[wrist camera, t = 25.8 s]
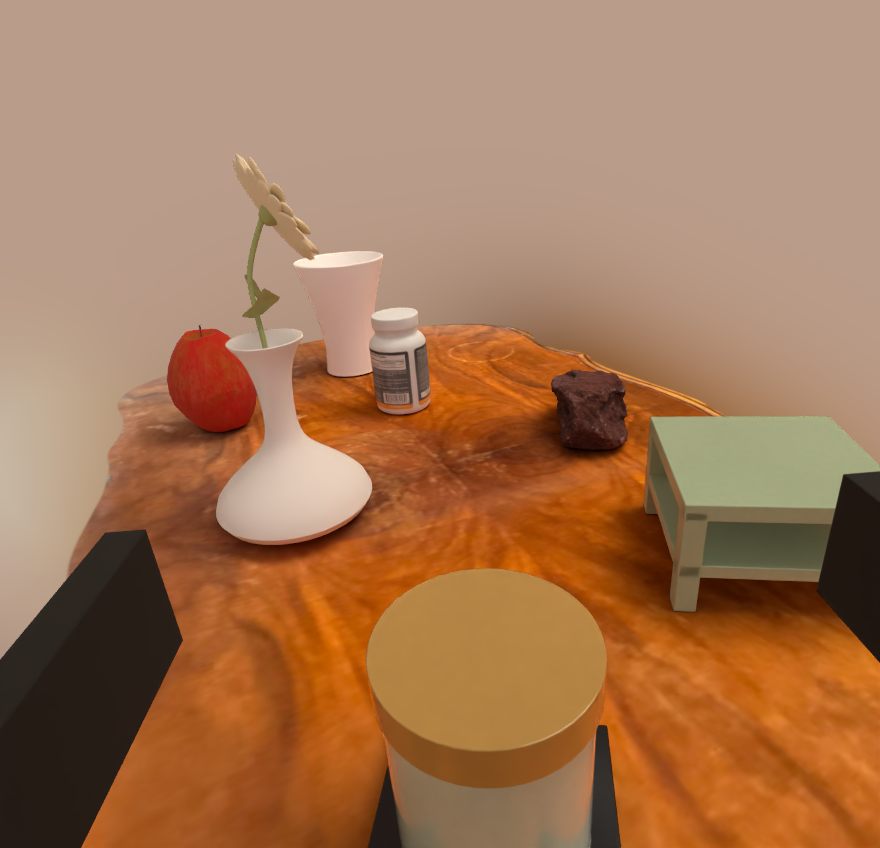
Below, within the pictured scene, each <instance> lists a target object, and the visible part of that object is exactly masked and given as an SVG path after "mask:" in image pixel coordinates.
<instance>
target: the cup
mask: <svg viewBox="0 0 880 848" xmlns="http://www.w3.org/2000/svg"><path fill="white" fill-rule="evenodd" d="M382 262H383V254H381V253H379V252H369V251H352V252H339V253H330V254H322V255H316V256H314V259H312V260H309V259H307V258H303V259H300V260H298V261H296V262H294V264H293V266H294V268H295V270H296V272H297V274H298V276H299V278H300V280H301V282H302V284H303V286H304V288H305V290H306V293H307V295H308V297H309V299H310V301H311V303H312V305H313V308H314V310H315V312H316V315H317V318H318V321H319V324H320V327H321V330H322V333H323V338H324V343H325V347H326V353H327V371H328V373H329V374H331V375H335V376H343V377H345V376H358V375H362V374H366V373H369V372H372V364H371V357H370V350H369V343H370V340H371V338H372V337H373V336H374V330H373V328H372V323H371V315H372V314H374V313H375V312H374V311H375V301H376V295H377V289H378V283H379V277H380V272H381V266H382Z"/></svg>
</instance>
